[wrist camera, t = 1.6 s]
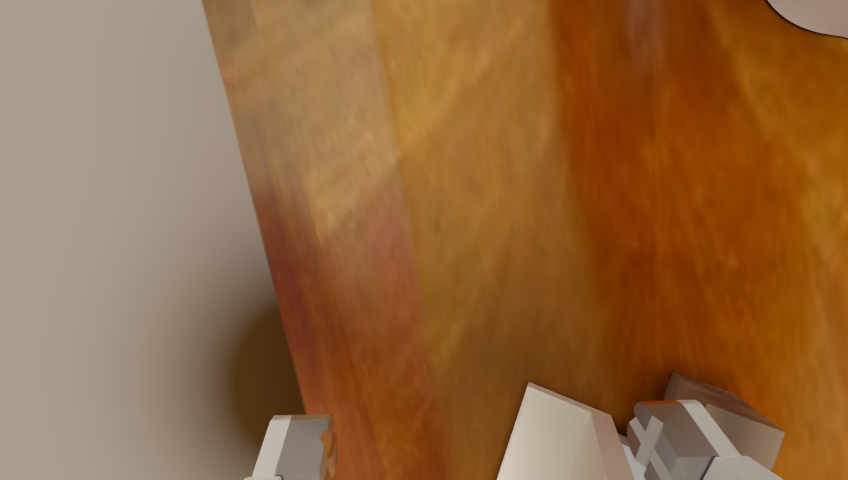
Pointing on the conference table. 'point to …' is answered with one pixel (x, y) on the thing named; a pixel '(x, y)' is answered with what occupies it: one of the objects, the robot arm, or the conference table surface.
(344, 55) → the conference table surface
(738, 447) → the cabinet
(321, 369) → the conference table surface
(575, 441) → the board
